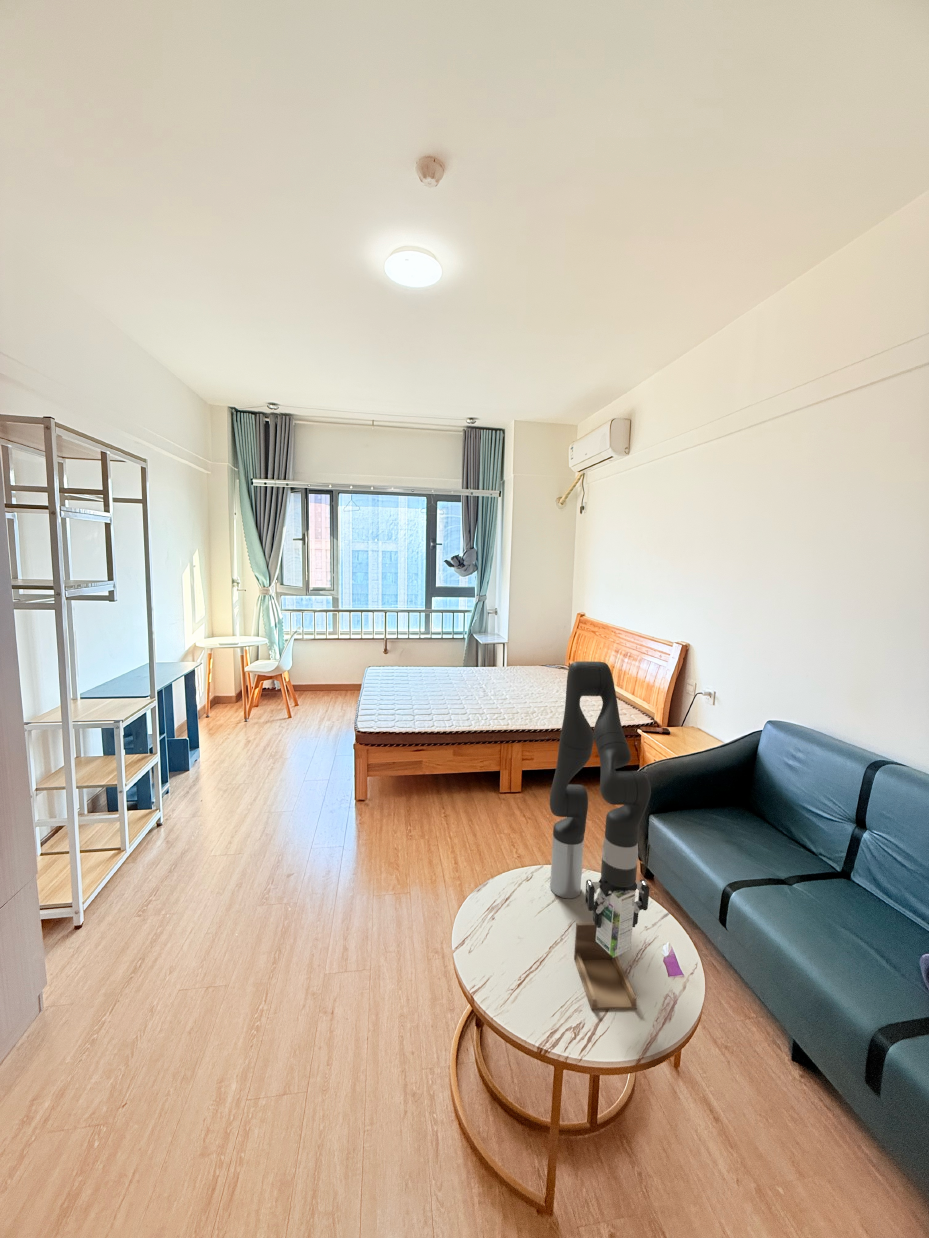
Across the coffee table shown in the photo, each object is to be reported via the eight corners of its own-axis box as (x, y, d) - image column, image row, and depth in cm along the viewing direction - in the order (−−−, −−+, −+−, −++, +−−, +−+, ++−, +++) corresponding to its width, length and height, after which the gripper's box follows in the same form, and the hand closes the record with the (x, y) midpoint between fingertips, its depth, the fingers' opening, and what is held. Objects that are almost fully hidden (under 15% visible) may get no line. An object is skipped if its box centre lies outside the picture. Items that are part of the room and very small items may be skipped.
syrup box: (594, 940, 112) (598, 882, 110) (613, 932, 115) (617, 875, 113) (613, 958, 107) (617, 898, 106) (632, 949, 110) (636, 890, 108)
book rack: (573, 958, 123) (576, 922, 122) (614, 958, 124) (616, 921, 123) (591, 1009, 109) (594, 968, 108) (636, 1008, 110) (639, 967, 109)
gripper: (643, 847, 113) (638, 912, 115) (583, 847, 112) (578, 913, 114) (658, 867, 105) (652, 937, 107) (593, 868, 104) (588, 938, 106)
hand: (614, 924), depth 111 cm, fingers closed on syrup box, 7 cm apart
